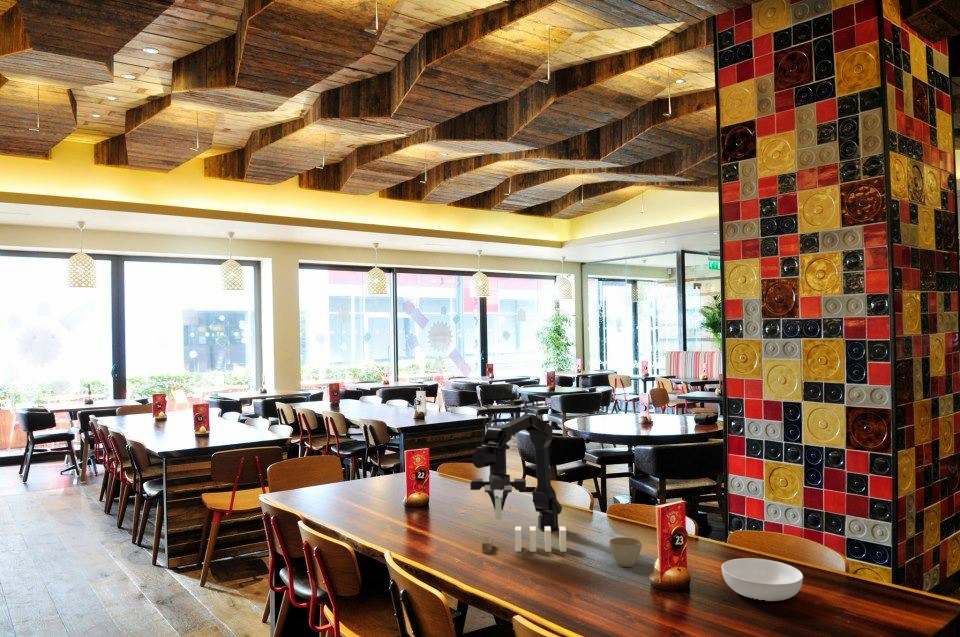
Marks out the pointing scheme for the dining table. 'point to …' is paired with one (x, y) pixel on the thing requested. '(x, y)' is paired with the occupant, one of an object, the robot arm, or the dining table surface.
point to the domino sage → (498, 507)
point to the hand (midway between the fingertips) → (498, 509)
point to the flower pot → (625, 550)
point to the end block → (487, 545)
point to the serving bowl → (762, 578)
